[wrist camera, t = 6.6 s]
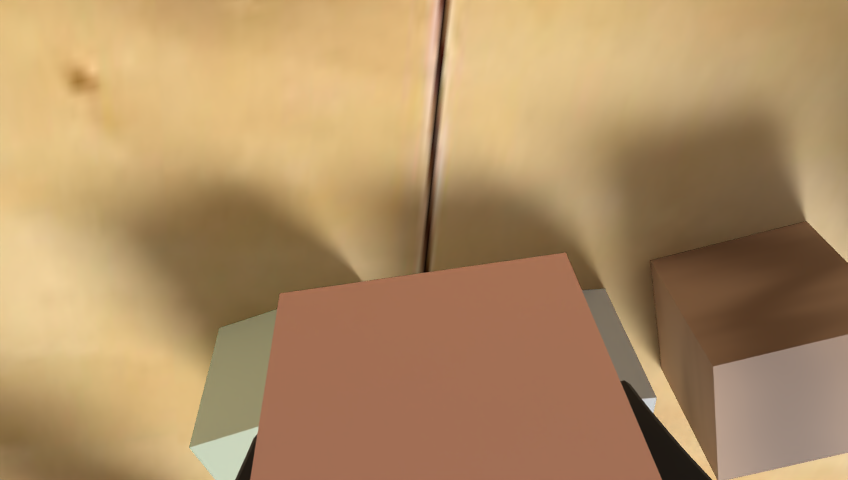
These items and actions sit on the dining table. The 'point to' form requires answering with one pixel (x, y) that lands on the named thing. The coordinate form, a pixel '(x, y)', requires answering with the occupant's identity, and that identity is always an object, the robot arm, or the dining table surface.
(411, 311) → the terracotta cube
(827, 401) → the walnut cube
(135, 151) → the dining table surface
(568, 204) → the dining table surface
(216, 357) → the sage cube
